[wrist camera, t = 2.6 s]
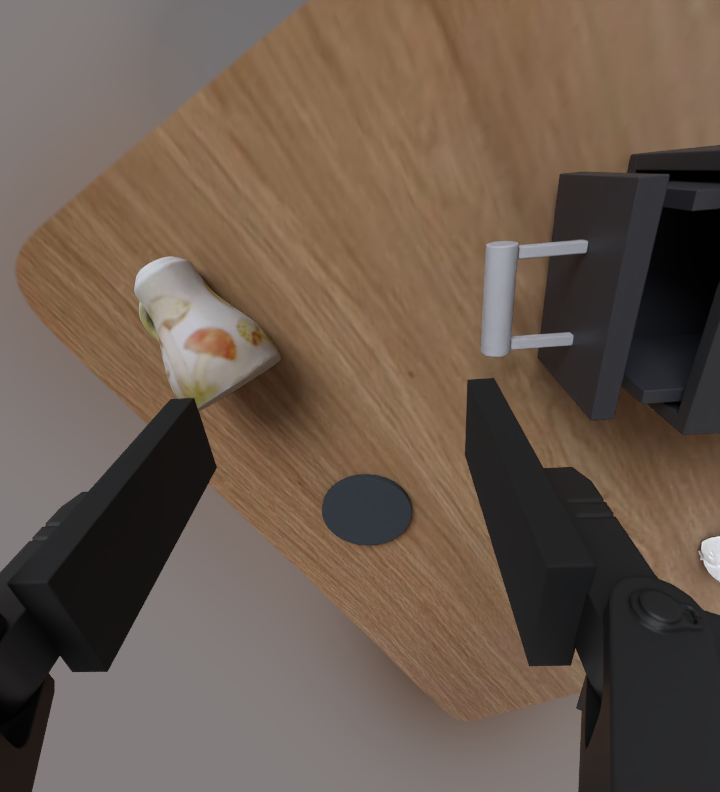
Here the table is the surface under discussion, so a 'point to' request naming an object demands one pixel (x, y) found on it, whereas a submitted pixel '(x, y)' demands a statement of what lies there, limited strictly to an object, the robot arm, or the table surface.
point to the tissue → (711, 556)
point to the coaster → (367, 510)
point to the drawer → (616, 286)
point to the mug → (200, 333)
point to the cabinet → (716, 356)
